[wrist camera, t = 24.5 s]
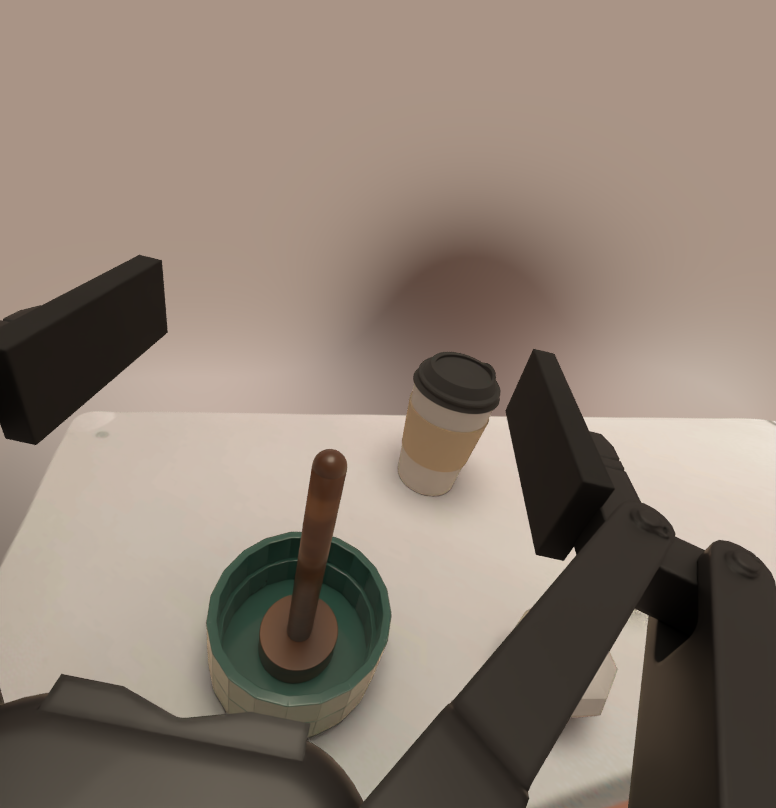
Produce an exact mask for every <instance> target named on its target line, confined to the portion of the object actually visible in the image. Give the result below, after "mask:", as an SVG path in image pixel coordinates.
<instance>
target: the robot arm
mask: <svg viewBox="0 0 776 808" xmlns="http://www.w3.org/2000/svg"><path fill="white" fill-rule="evenodd" d="M167 332H168V331H167V318H166V307H165V294H164V281H163V270H162V260H158V259H154V258H150V257H146V256H142V255H138V256H136V257H134V258H132V259H131V260H129V261H127V262H125V263H123V264H121V265H119V266H117V267H115V268H113V269H111V270H109V271H107V272H105V273H103V274H102V275H100V276H98V277H96V278H94V279H92V280H90V281H88V282H86V283H84V284H82V285H80V286H78V287H76V288H75V289H73V290H71V291H69V292H67V293H65V294H63V295H61V296H59V297H57V298H55V299H53V300H51V301H49V302H48V303H46V304H44V305H42V306H41V305H40V306H36V307H32V308H28V309H24V310H20V311H18V312H16V313H14V314H12V315H10V316H8V317H6V318H4V319H3V321H0V425H1V427H2V430H3V433H4V436H5V438H6V439H10V440H15V441H20V442H24V443H29V444H34V445H36V444H38V443H39V442H40V441H42V440H43V439H44V438H45V437H46V436H47V435H49V434H50V433H51V432H52V431H53V430H54V429H56V428H57V427H58V426H59V425H60V424H61V423H62V422H64V421H65V420H66V419H67V418H68V417H69V416H71V415H72V414H73V413H74V412H75V411H77V410H78V409H79V408H80V407H81V406H82V405H84V404H85V403H86V402H87V401H88V400H89V399H90V398H92V397H93V396H94V395H95V394H96V393H98V391H100V390H101V389H102V388H103V387H104V386H106V385H107V384H108V383H109V382H110V381H112V380H113V379H114V378H115V377H116V376H117V375H118V374H120V373H121V372H122V371H123V370H124V369H125V368H127V367H128V366H129V365H130V364H131V363H132V362H134V361H135V360H136V359H137V358H138V357H140V356H141V355H142V354H143V353H144V352H145V351H147V350H148V349H149V348H150V347H151V346H152V345H153V344H155V343H156V342H157V341H158V340H159V339H160V338H162V337H163V336H164V335H165V334H166V333H167ZM506 416H507V420H508V425H509V430H510V435H511V439H512V444H513V449H514V453H515V458H516V463H517V468H518V472H519V477H520V482H521V487H522V491H523V496H524V501H525V506H526V510H527V515H528V520H529V525H530V529H531V534H532V539H533V544H534V548H535V553H536V555H539V556H544V557H549V558H553V559H558V560H562V561H564V560H565V558H566V557H567V555H568V554H569V553H570V551H571V550H572V548H573V547H574V548H575V551H576V556H575V558H574V559H573V560H572V561H571V562H570V563H569V565H568V566H567V567H566V568H565V569H564V571H563V572H562V573H561V574H560V575H559V576H558V578H557V579H556V580H555V581H554V582H553V583H552V585H551V586H550V587H549V588H548V589H547V591H546V592H545V593H544V594H543V595H542V596H541V598H540V599H539V600H538V601H537V602H536V604H535V605H534V606H533V607H532V608H531V609H530V611H529V612H528V613H527V614H526V615H525V616H524V618H523V619H522V620H521V621H520V622H519V624H518V625H517V626H516V627H515V628H514V629H513V631H512V632H511V633H510V634H509V635H508V636H507V638H506V639H505V640H504V641H503V642H502V644H501V645H500V646H499V647H498V648H497V649H496V651H495V652H494V653H493V654H492V655H491V657H490V658H489V659H488V660H487V661H486V662H485V664H484V665H483V666H482V667H481V668H480V669H479V671H478V672H477V673H476V674H475V675H474V677H473V678H472V679H471V680H470V681H469V682H468V684H467V685H466V686H465V687H464V688H463V690H462V691H461V692H460V693H459V694H458V695H457V697H456V698H455V699H454V700H453V701H452V702H451V703H450V704H448V705H447V706H446V707H445V708H444V709H443V710H442V711H441V712H440V713H439V714H438V716H437V717H436V718H435V719H434V720H433V721H432V723H431V724H430V725H429V726H428V727H427V728H426V730H425V731H424V732H423V733H422V734H421V735H420V737H419V738H418V739H417V740H416V741H415V742H414V744H413V745H412V746H411V747H410V748H409V749H408V751H407V752H406V753H405V754H404V755H403V756H402V758H401V759H400V760H399V761H398V762H397V763H396V765H395V766H394V767H393V768H392V769H391V770H390V772H389V773H388V774H387V775H386V776H385V778H384V779H383V780H382V781H381V782H380V783H379V785H378V786H377V787H376V788H375V789H374V790H373V792H372V793H371V794H370V795H369V796H368V797H367V799H366V800H365V801H364V802H363V800H362V798H361V796H360V794H359V793H358V791H357V789H356V787H355V785H354V784H353V782H352V781H351V779H350V778H349V777H348V775H347V774H346V772H345V771H344V770H343V769H342V768H341V767H340V765H339V764H338V763H337V762H336V761H335V760H334V759H333V758H332V757H331V756H329V755H328V754H327V753H326V752H324V751H323V750H322V749H321V748H319V747H318V746H316V745H314V744H313V743H311V742H309V741H308V740H307V738H308V734H309V729H310V723H305V722H300V721H295V720H290V719H285V718H280V717H275V716H270V715H265V714H260V713H255V712H242V713H232V714H222V715H212V716H201V717H191V718H179V717H176V716H174V715H172V714H170V713H169V712H167V711H165V710H163V709H162V708H160V707H158V706H157V705H155V704H153V703H151V702H150V701H148V700H146V699H144V698H143V697H141V696H139V695H138V694H136V693H134V692H132V691H131V690H129V689H127V688H125V687H124V686H119V685H114V684H109V683H104V682H99V681H94V680H89V679H84V678H79V677H74V676H69V675H64V674H61V675H60V677H59V679H58V680H57V682H56V683H55V685H54V686H53V688H52V689H51V691H50V692H49V693H44V694H39V695H34V696H29V697H24V698H21V699H18V700H15V701H12V702H8V703H5V704H4V700H3V697H2V693H1V690H0V808H526V806H527V803H528V800H529V796H528V791H529V788H530V786H531V784H532V782H533V780H534V778H535V777H536V775H537V773H538V772H539V770H540V768H541V767H542V765H543V763H544V761H545V760H546V758H547V756H548V755H549V753H550V751H551V750H552V748H553V746H554V744H555V743H556V741H557V739H558V738H559V736H560V734H561V733H562V731H563V729H564V728H565V726H566V724H567V722H568V721H569V719H570V717H571V716H572V714H573V712H574V711H575V709H576V707H577V705H578V704H579V702H580V700H581V699H582V697H583V695H584V694H585V692H586V690H587V688H588V687H589V685H590V683H591V682H592V680H593V678H594V677H595V675H596V673H597V672H598V670H599V668H600V666H601V665H602V663H603V661H604V660H605V658H606V656H607V655H608V653H609V651H610V649H611V648H612V646H613V644H614V643H615V641H616V639H617V638H618V636H619V634H620V632H621V631H622V629H623V627H624V626H625V624H626V622H627V621H628V619H629V617H630V615H631V614H632V612H633V610H634V609H637V610H639V611H641V612H643V613H645V614H647V615H649V617H648V626H647V636H646V645H645V654H644V664H643V673H642V682H641V692H640V701H639V710H638V720H637V729H636V738H635V748H634V757H633V766H632V776H631V785H630V794H629V804H628V808H776V584H775V580H774V578H773V576H772V573H771V572H770V571H769V569H768V568H767V567H766V566H765V564H764V563H763V562H762V561H761V560H760V559H759V558H758V557H756V555H754V554H753V553H752V552H750V551H748V550H746V549H745V548H743V547H741V546H739V545H737V544H734V543H732V542H729V541H723V540H718V541H715V542H713V543H712V544H711V545H710V546H709V547H708V548H707V549H706V550H703V549H701V548H699V547H697V546H694V545H692V544H690V543H688V542H686V541H683V540H681V539H679V538H677V537H675V532H674V529H673V527H672V525H671V524H670V523H669V522H668V520H667V519H666V518H665V517H664V516H663V515H662V514H660V513H659V512H658V511H657V510H655V509H654V508H652V507H650V506H648V505H646V504H644V503H641V501H640V499H639V497H638V495H637V493H636V491H635V489H634V487H633V485H632V483H631V481H630V479H629V477H628V475H627V473H626V472H625V471H624V467H623V465H622V463H621V461H619V457H618V455H617V453H616V451H615V449H614V447H613V446H612V445H611V444H610V443H609V442H608V441H607V440H606V439H605V438H604V437H603V435H602V434H599V433H594V432H590V431H589V430H588V428H587V425H586V423H585V421H584V419H583V416H582V414H581V412H580V410H579V408H578V406H577V403H576V401H575V399H574V397H573V394H572V392H571V390H570V388H569V385H568V383H567V381H566V379H565V377H564V374H563V372H562V370H561V368H560V365H559V363H558V361H557V359H556V357H555V354H553V353H549V352H545V351H540V350H536V349H533V351H532V353H531V355H530V358H529V360H528V362H527V364H526V366H525V369H524V371H523V373H522V375H521V377H520V380H519V382H518V384H517V387H516V389H515V391H514V393H513V395H512V397H511V400H510V402H509V404H508V406H507V409H506Z"/></svg>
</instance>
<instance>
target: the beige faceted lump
mask: <svg viewBox="0 0 776 808" xmlns="http://www.w3.org/2000/svg"><path fill="white" fill-rule="evenodd" d="M529 611H530V609H529V610H527V611H526V612H525V613H524V615H523V616H522V618H521V619H520V621H521V620H522V619H523V618H524V616H525V615H526V614H527V613H528V612H529ZM520 621H519V622H520ZM519 622H518V624H519ZM518 624H517V625H518ZM517 625H516V626H517ZM617 670H618V669H617V667H616V664H615V662H614V660H613V658H612V656H611V654H610V651H609V653H608V655H607V656H606V658H605V660H604V661H603V663H602V665H601V666H600V668H599V670H598V672H597V673H596V675H595V677H594V678H593V680H592V682H591V683H590V685H589V687H588V688H587V690H586V692H585V694H584V695H583V697H582V699H581V700H580V702H579V704H578V705H577V707H576V709H575V711H574V712H573V714H572V716H571V717H570V718H575V717H588V716H598V715H601V712H602V710H603V707H604V705H605V702H606V699H607V697H608V694H609V692H610V689H611V686H612V684H613V681H614V678H615V675H616V673H617Z"/></svg>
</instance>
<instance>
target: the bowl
mask: <svg viewBox="0 0 776 808" xmlns="http://www.w3.org/2000/svg"><path fill="white" fill-rule="evenodd" d="M301 535H302V532H288V533H284V534H280V535H277V536H273V537H269V538H266V539H263V540H262V541H260V542H258V543H256V544H255V545H253V546H251V547H249V548H248V549H246V550H244V551H243V552H242V553H241V554H240V555H239V556H238V557H237V558H236V559H235V560H234V561H233V562H232V563H231V564H230V565H229V566H228V567H227V568H226V569H225V570H224V571H223V573H222V575H221V577H220V579H219V581H218V583H217V584H216V586H215V588H214V590H213V592H212V594H211V597H210V603H209V609H208V615H207V622H206V629H207V650H208V665H209V670H210V676H211V681H212V687H213V689H214V692H215V694H216V695H217V697H218V699H219V700H220V702H221V704H222V705H223V707H224V709H225V710H226V712H227V714H232V713H242V712H255V713H260V714H265V715H270V716H275V717H280V718H285V719H290V720H295V721H300V722H305V723H310V729H309V734H308V737H311V736H314V735H316V734H318V733H320V732H322V731H324V730H326V729H328V728H330V727H332V726H334V725H336V724H338V723H340V722H341V721H342V720H343V719H344V718H345V717H346V716H347V715H348V714H349V713H350V712H351V711H352V710H353V709H354V708H355V707H356V706H357V705H358V704H359V703H360V701H361V700H362V698H363V696H364V694H365V692H366V690H367V688H368V686H369V684H370V682H371V680H372V678H373V676H374V673H375V671H376V668H377V666H378V663H379V661H380V659H381V656H382V654H383V651H384V649H385V647H386V644H387V641H388V635H389V629H390V622H391V609H390V603H389V597H388V591H387V588H386V586H385V584H384V582H383V580H382V578H381V576H380V574H379V573H378V571H377V569H376V568H375V566H374V565H373V564H372V563H371V562H370V561H369V560H368V559H367V558H366V557H365V556H364V555H363V554H362V553H361V552H360V551H359V550H358V549H356V548H355V547H353V546H351V545H349V544H348V543H346V542H344V541H342V540H341V539H339V538H336V537H332V541H331V546H330V550H329V555H328V560H327V564H326V569H325V573H324V578H323V583H322V587H321V592H320V596H319V599H321V600H323V601H324V602H325V603H326V604H327V605H328V606H329V607H330V608H331V609H332V611H333V613H334V615H335V617H336V620H337V625H338V636H337V641H336V645H335V648H334V652H333V655H332V658H331V660H330V662H329V664H328V665H327V667H326V668H325V669H324V670H323V671H322V672H321V673H320V674H319V675H318V676H316V677H315V678H313V679H311V680H309V681H306V682H302V683H286V682H282V681H280V680H278V679H276V678H274V677H273V676H271V675H270V674H269V673H268V672H267V671H266V669H265V668H264V666H263V665H262V662H261V660H260V657H259V651H258V643H259V632H260V626H261V622H262V619H263V617H264V615H265V614H266V612H267V611H268V609H269V608H270V607H271V606H272V605H273V604H274V603H275V602H277V601H278V600H280V599H282V598H284V597H286V596H289V595H292V593H293V587H294V580H295V574H296V567H297V561H298V554H299V548H300V541H301Z"/></svg>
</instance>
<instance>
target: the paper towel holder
mask: <svg viewBox="0 0 776 808" xmlns="http://www.w3.org/2000/svg"><path fill="white" fill-rule="evenodd" d="M346 472H347V461H346V459H345V457H344V456H343V454H341V453H340V452H339V451H337V450H334V449H326V450H323V451H321V452H320V453H318V454H317V455H316V457H315V458H314V460H313V464H312V470H311V476H310V483H309V489H308V496H307V502H306V509H305V515H304V522H303V528H302V535H301V541H300V548H299V554H298V561H297V567H296V574H295V580H294V587H293V593H292V595H289V596H286V597H284V598H282V599H280V600H278V601H277V602H275V603H274V604H273V605H272V606H271V607H270V608H269V609H268V611H267V612H266V614H265V615H264V617H263V619H262V622H261V626H260V632H259V643H258V651H259V657H260V660H261V662H262V665H263V666H264V668H265V669H266V671H267V672H268V673H269V674H270V675H271V676H273V677H274V678H276V679H278V680H280V681H282V682H286V683H302V682H306V681H309V680H311V679H313V678H315V677H316V676H318V675H319V674H320V673H321V672H322V671H323V670H324V669H325V668H326V667H327V665H328V664H329V662H330V660H331V658H332V655H333V652H334V648H335V645H336V641H337V636H338V625H337V620H336V617H335V615H334V613H333V611H332V609H331V608H330V607H329V606H328V605H327V604H326V603H325V602H324V601H323V600H321V599H319V596H320V592H321V587H322V583H323V578H324V573H325V569H326V564H327V560H328V555H329V550H330V546H331V541H332V536H333V532H334V527H335V523H336V518H337V513H338V509H339V504H340V500H341V495H342V490H343V486H344V481H345V476H346Z"/></svg>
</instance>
